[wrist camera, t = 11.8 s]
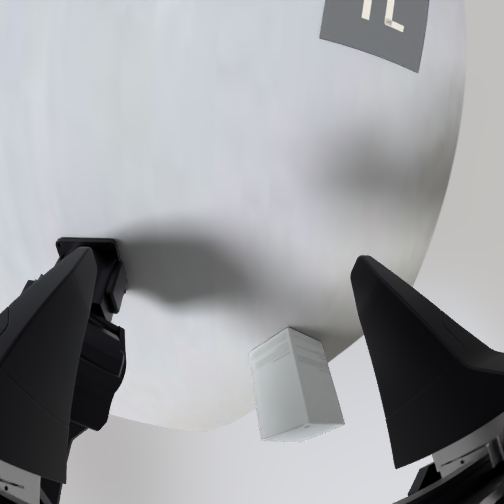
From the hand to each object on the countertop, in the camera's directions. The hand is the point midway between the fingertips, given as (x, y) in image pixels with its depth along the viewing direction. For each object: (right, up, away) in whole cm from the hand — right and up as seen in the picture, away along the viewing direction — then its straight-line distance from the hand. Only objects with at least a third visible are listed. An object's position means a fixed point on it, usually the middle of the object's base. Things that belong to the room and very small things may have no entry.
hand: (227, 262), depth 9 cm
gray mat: (+10, +18, +4) cm, 21 cm away
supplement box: (+5, -12, +28) cm, 31 cm away
